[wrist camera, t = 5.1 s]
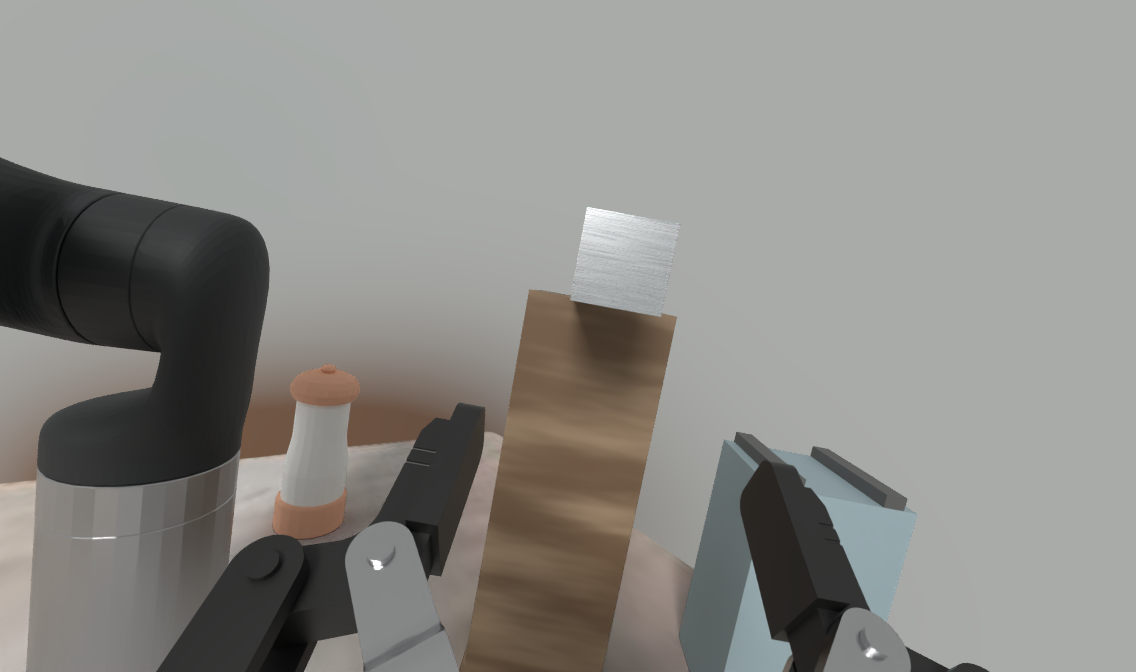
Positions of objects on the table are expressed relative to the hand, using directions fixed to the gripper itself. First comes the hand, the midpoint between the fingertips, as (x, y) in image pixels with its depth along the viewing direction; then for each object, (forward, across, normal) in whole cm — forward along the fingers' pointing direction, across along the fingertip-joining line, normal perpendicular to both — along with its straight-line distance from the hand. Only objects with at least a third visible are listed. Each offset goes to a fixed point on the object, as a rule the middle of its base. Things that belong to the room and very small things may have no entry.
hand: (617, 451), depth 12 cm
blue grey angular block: (+6, -20, +36) cm, 42 cm away
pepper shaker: (+17, +28, +42) cm, 54 cm away
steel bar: (+19, 0, +6) cm, 20 cm away
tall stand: (+6, 0, +36) cm, 36 cm away
